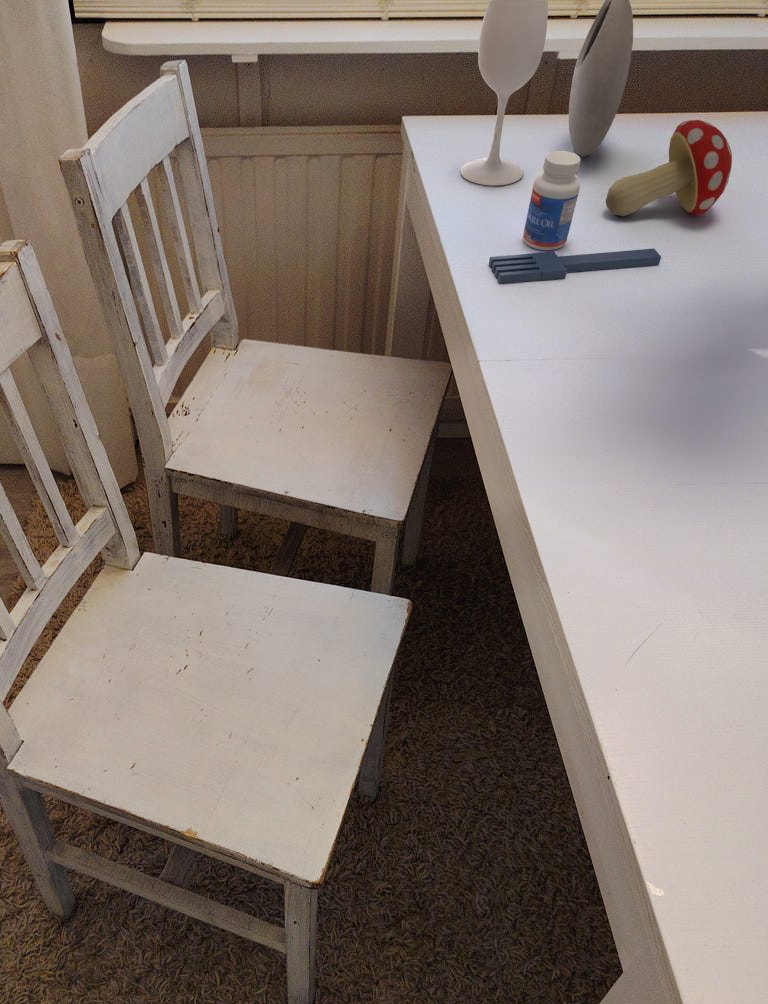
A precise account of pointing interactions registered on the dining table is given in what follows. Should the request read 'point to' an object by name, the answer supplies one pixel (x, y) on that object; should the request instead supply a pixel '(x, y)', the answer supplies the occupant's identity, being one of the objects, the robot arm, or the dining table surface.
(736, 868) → the dining table surface
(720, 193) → the decorative mushroom
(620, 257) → the serving fork
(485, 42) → the wineglass
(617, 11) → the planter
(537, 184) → the pill bottle
